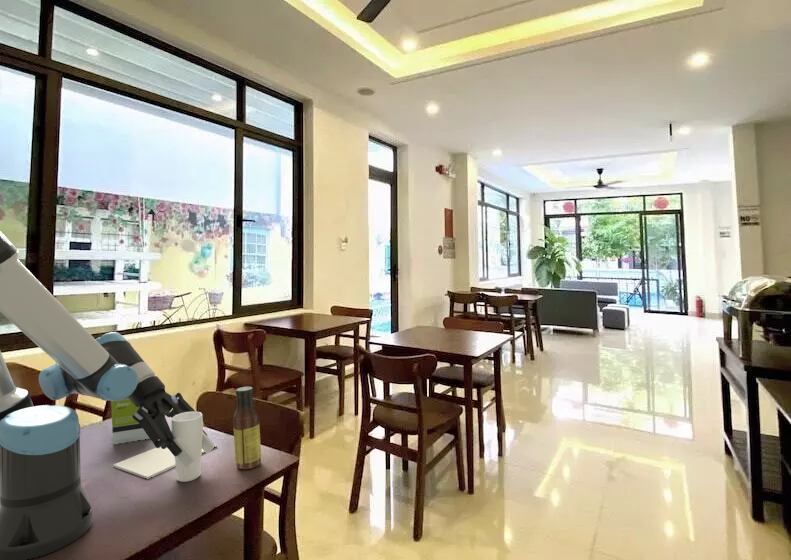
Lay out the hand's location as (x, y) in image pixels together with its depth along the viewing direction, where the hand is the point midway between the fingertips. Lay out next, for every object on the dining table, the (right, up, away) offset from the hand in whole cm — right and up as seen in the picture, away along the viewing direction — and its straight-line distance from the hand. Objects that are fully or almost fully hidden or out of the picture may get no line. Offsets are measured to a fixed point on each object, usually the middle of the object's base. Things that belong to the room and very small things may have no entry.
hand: (201, 456), depth 100 cm
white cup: (-3, -6, +1) cm, 7 cm away
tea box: (-33, -5, +28) cm, 44 cm away
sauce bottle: (+9, -5, +7) cm, 12 cm away
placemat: (-15, -5, +12) cm, 20 cm away
